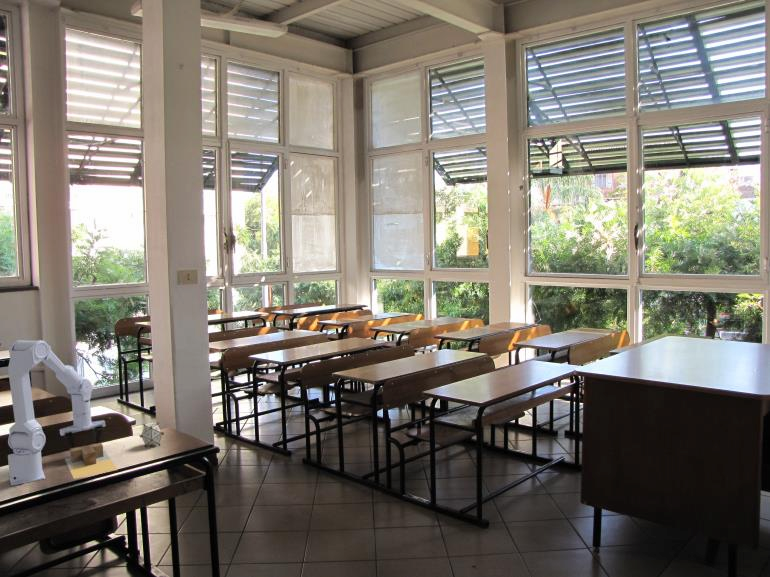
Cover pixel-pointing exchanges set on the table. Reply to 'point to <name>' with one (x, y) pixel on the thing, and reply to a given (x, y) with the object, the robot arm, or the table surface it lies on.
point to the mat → (91, 467)
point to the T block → (86, 453)
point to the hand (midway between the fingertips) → (84, 450)
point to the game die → (151, 434)
